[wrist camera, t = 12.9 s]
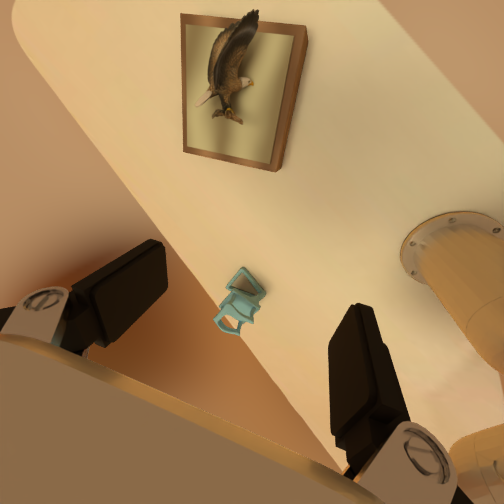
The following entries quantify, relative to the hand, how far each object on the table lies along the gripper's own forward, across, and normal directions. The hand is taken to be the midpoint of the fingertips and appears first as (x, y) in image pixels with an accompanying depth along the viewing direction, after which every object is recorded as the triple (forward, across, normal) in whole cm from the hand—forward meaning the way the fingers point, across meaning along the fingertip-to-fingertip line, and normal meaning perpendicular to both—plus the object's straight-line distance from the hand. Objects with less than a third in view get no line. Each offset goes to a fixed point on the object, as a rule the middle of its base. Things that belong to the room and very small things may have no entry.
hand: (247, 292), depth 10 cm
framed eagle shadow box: (+28, +11, -9) cm, 32 cm away
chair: (+28, +5, +25) cm, 38 cm away
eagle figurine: (+24, +10, -11) cm, 28 cm away
